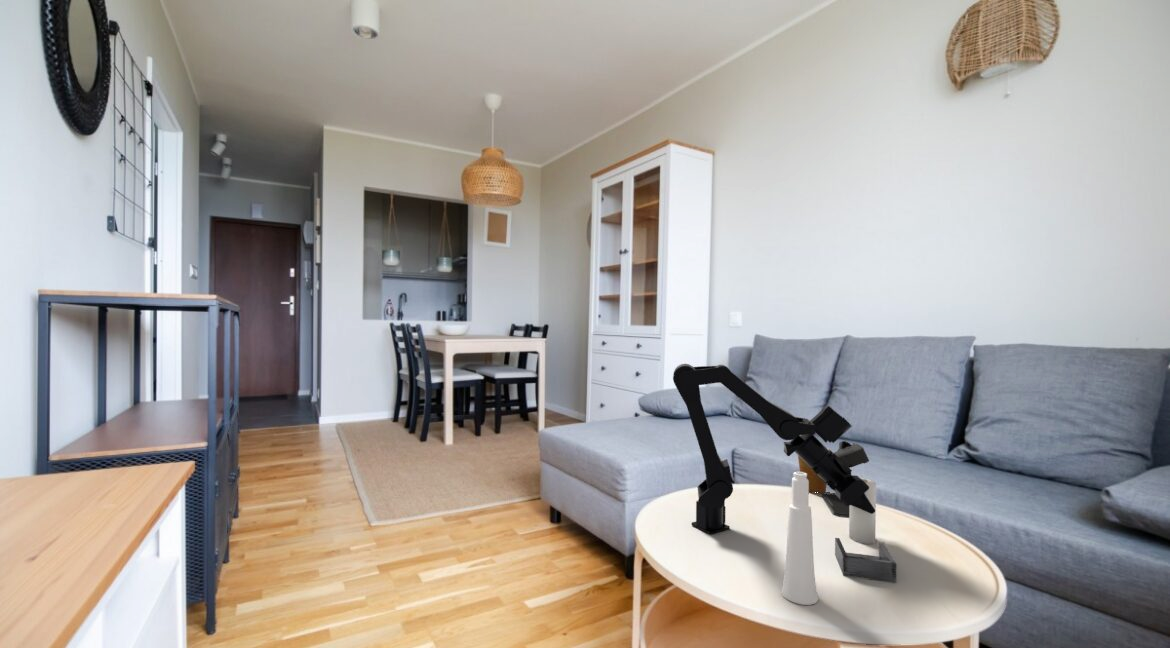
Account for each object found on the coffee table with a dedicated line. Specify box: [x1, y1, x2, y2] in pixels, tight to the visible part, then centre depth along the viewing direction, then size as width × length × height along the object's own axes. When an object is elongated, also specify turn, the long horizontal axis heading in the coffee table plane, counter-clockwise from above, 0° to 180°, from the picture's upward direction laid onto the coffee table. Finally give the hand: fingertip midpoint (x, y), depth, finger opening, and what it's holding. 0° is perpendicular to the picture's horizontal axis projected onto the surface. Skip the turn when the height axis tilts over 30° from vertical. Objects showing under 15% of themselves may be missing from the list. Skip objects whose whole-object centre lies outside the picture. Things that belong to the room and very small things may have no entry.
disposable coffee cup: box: [797, 447, 830, 494], centre depth 147 cm, size 10×10×12 cm
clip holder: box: [834, 537, 897, 583], centre depth 101 cm, size 9×9×4 cm
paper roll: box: [848, 477, 877, 545], centre depth 114 cm, size 5×5×13 cm
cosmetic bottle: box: [781, 471, 819, 606], centre depth 90 cm, size 6×6×22 cm
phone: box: [821, 493, 849, 518], centre depth 134 cm, size 8×1×15 cm
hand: (869, 507), depth 114 cm, fingers closed on paper roll, 5 cm apart
